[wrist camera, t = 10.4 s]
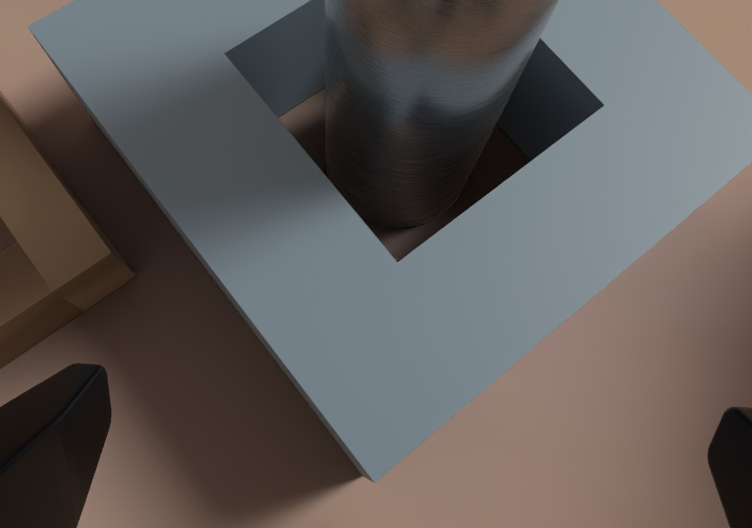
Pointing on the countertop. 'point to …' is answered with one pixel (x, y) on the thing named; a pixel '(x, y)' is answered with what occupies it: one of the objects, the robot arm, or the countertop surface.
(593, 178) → the slate-blue hub block
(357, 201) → the cylinder
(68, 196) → the square wooden frame
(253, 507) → the countertop surface
